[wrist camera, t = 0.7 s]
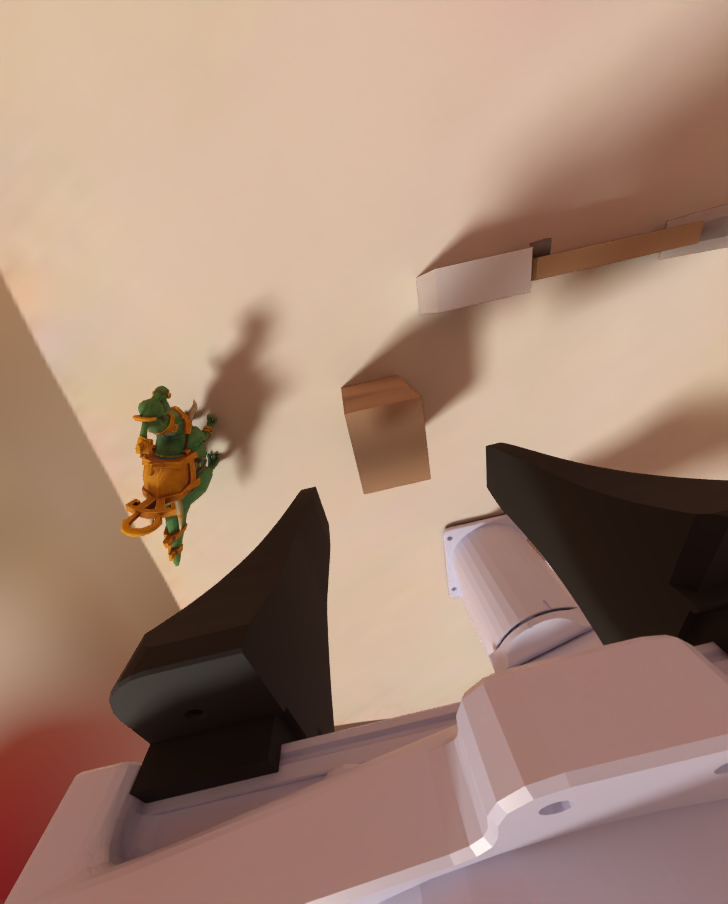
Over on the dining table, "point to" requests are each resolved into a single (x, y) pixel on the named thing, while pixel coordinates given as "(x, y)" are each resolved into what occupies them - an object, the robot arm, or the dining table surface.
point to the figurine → (170, 469)
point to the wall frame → (514, 268)
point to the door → (610, 250)
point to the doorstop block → (386, 433)
